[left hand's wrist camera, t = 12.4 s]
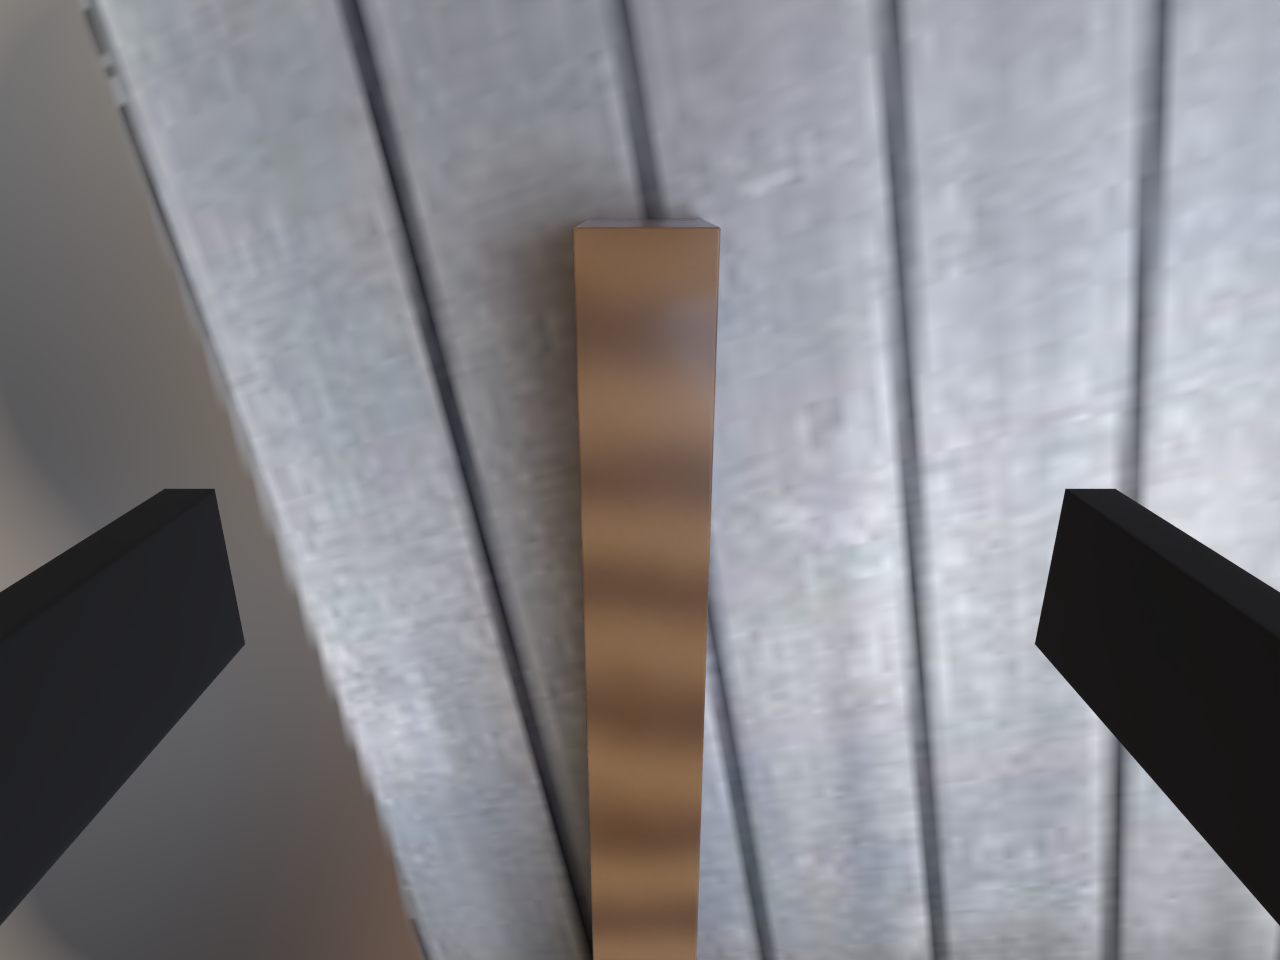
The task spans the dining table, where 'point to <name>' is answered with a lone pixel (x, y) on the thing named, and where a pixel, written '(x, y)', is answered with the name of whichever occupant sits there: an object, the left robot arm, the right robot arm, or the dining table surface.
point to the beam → (645, 567)
